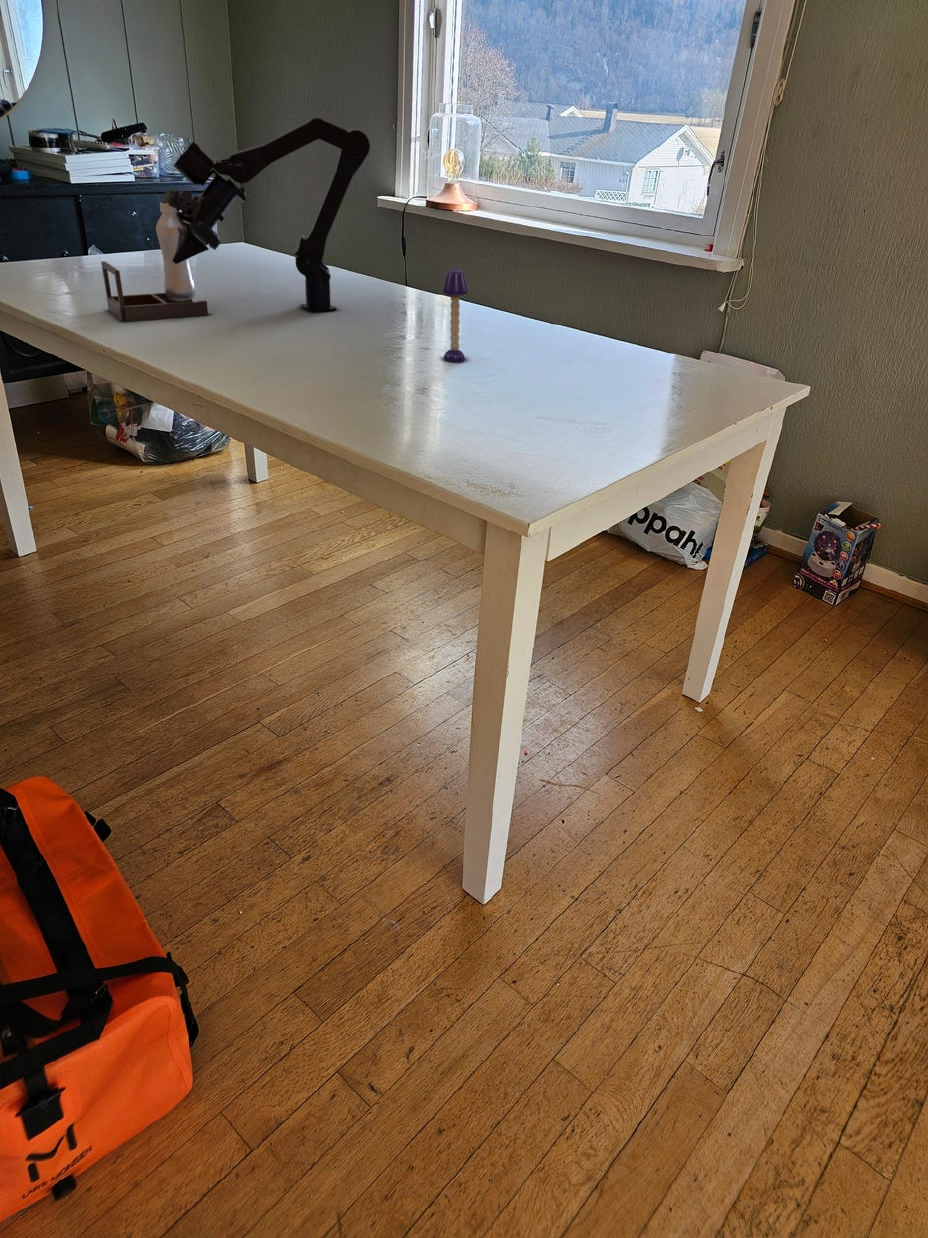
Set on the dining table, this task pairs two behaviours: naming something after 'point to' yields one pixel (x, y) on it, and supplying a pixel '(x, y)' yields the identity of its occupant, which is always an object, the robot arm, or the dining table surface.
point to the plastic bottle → (170, 239)
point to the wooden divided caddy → (147, 303)
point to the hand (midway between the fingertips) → (169, 259)
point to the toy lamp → (455, 311)
